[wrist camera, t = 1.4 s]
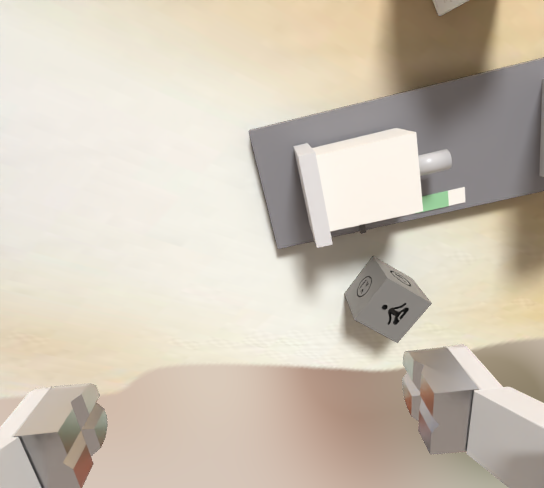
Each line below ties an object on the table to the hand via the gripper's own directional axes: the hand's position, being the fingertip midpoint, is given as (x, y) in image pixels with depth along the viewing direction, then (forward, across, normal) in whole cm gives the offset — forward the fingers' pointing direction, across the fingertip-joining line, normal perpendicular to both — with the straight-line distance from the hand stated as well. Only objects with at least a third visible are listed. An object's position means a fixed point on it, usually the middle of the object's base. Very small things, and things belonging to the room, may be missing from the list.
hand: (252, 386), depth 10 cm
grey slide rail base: (+26, -14, -2) cm, 29 cm away
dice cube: (+26, -11, +12) cm, 31 cm away
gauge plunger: (+24, -10, 0) cm, 26 cm away
